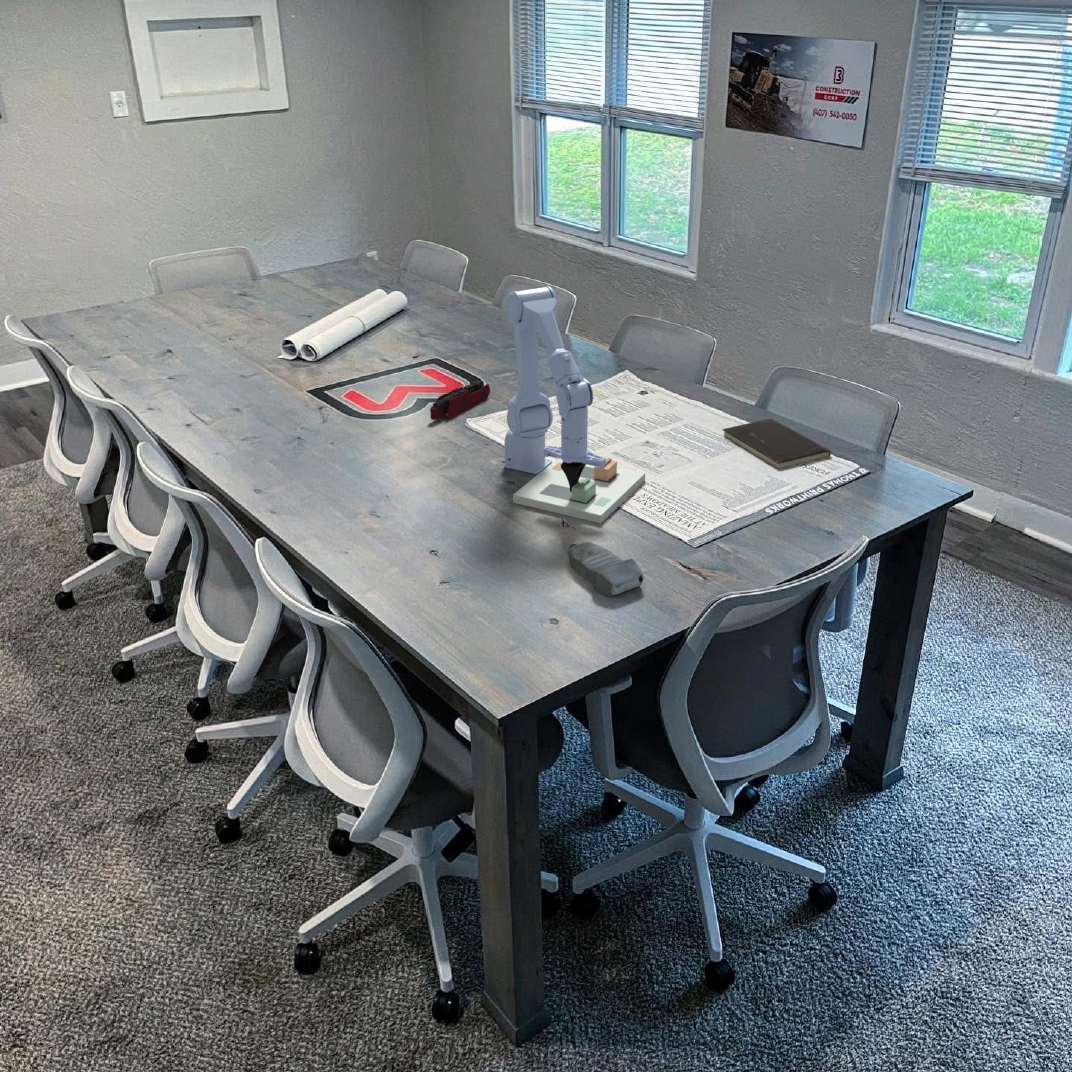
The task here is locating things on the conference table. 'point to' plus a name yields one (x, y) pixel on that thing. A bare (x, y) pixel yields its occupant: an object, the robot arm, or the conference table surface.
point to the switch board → (556, 496)
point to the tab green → (583, 490)
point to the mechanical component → (459, 400)
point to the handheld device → (604, 568)
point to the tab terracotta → (606, 470)
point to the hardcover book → (776, 443)
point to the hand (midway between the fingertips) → (573, 490)
